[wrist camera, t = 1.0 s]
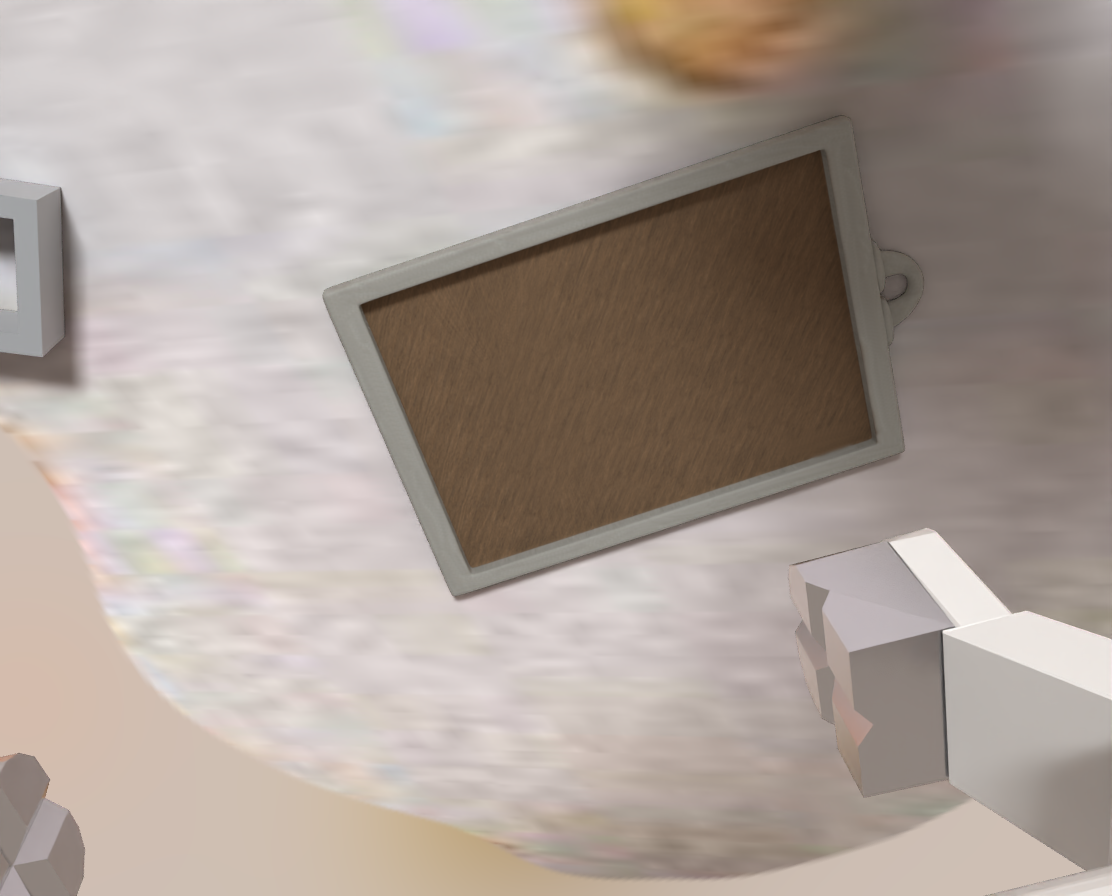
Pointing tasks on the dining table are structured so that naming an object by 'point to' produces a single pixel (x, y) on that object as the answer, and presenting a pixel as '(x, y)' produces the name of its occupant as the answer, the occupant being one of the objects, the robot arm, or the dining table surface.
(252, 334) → the dining table surface
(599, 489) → the grey framed brown tray
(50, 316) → the cradle
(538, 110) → the dining table surface
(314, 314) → the dining table surface
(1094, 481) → the dining table surface
